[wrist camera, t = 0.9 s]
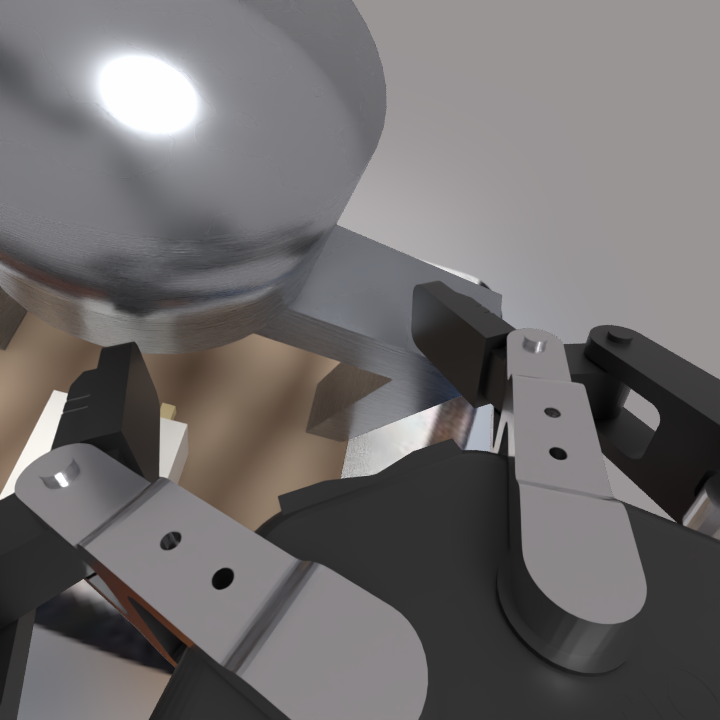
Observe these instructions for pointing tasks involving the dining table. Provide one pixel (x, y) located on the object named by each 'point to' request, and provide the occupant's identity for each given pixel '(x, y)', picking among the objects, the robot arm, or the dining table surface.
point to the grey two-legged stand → (208, 190)
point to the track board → (194, 412)
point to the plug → (46, 427)
